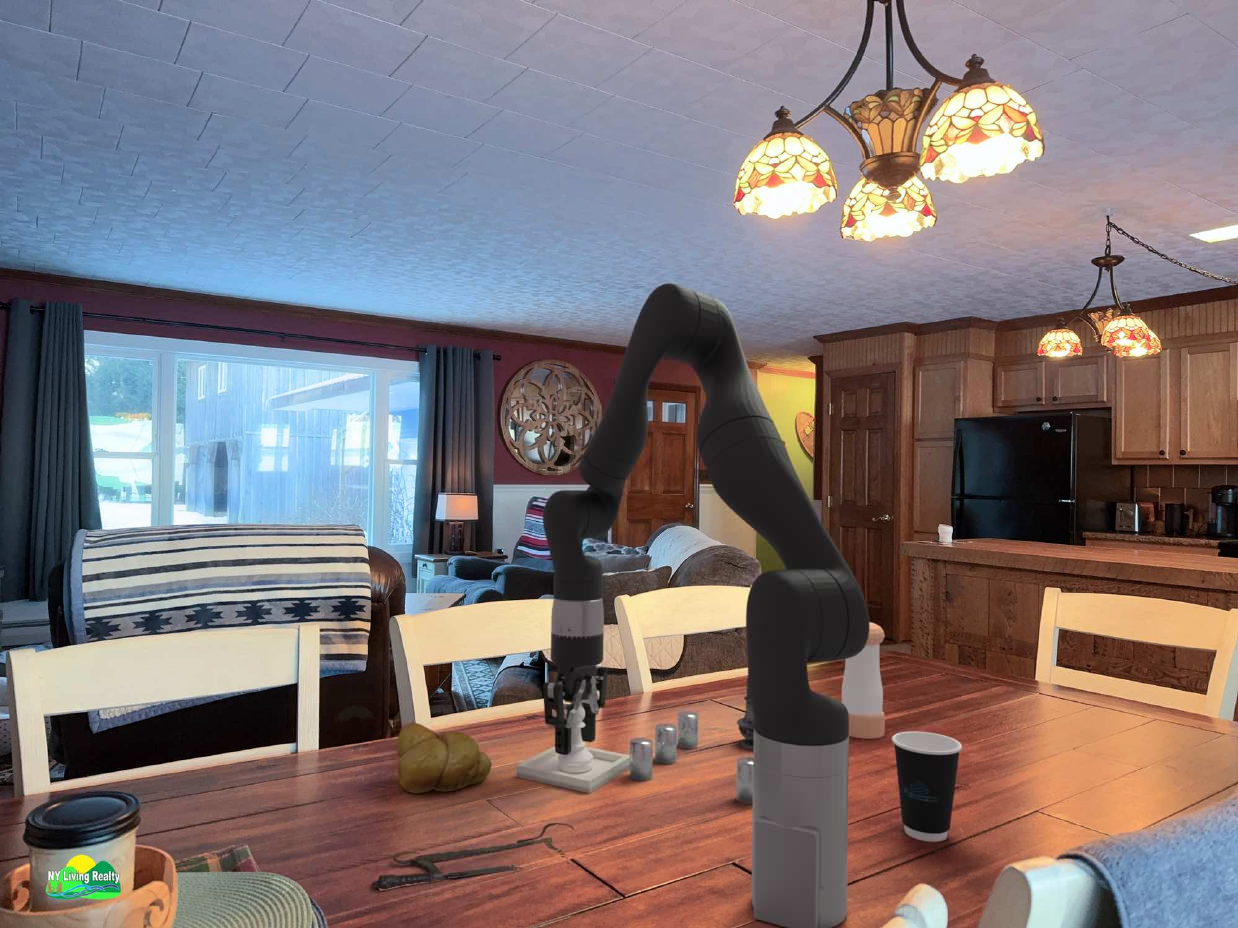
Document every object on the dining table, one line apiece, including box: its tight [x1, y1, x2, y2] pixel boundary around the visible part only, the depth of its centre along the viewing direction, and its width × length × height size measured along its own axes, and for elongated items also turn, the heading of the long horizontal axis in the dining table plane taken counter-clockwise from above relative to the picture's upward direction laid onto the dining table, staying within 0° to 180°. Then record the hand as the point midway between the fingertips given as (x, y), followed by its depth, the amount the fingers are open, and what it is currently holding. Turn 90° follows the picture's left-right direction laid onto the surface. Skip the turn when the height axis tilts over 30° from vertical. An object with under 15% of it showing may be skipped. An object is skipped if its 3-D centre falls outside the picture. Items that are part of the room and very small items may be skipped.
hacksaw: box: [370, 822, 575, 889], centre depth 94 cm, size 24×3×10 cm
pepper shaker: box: [841, 621, 886, 740], centre depth 141 cm, size 7×7×19 cm
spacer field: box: [629, 710, 753, 805], centre depth 122 cm, size 19×19×5 cm
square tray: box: [515, 745, 630, 794], centre depth 120 cm, size 12×12×2 cm
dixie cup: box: [891, 731, 963, 843], centre depth 101 cm, size 8×8×11 cm
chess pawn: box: [558, 705, 593, 773], centre depth 120 cm, size 5×5×9 cm
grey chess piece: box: [736, 677, 754, 751], centre depth 133 cm, size 6×6×12 cm
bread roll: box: [396, 721, 492, 794], centre depth 114 cm, size 13×10×8 cm
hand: (575, 746), depth 120 cm, fingers open, 6 cm apart
